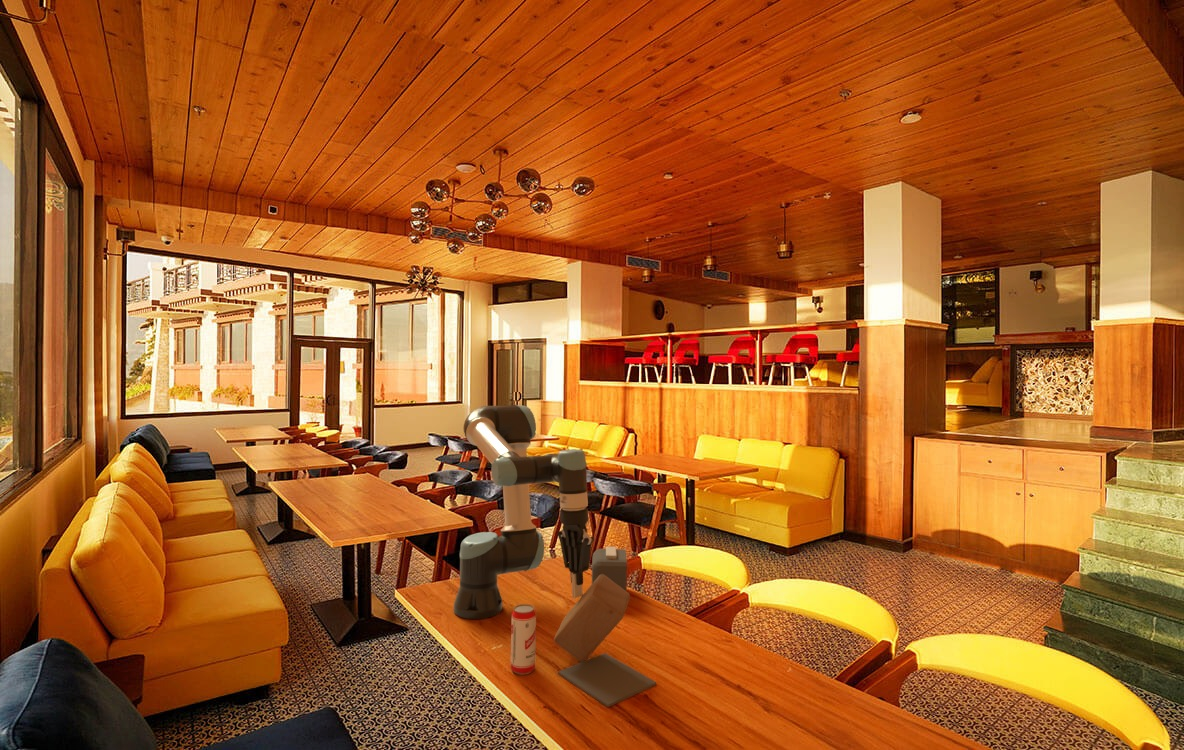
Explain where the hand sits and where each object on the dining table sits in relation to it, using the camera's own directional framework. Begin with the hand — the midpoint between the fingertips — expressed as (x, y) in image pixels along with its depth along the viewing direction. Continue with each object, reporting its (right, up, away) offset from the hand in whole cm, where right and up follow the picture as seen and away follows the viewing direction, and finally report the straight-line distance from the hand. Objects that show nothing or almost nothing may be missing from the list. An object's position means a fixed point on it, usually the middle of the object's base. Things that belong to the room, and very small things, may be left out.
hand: (577, 596), depth 165 cm
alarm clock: (+9, -16, +43) cm, 47 cm away
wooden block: (-2, -12, 0) cm, 12 cm away
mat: (+7, -17, -10) cm, 21 cm away
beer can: (-14, -17, -7) cm, 23 cm away
